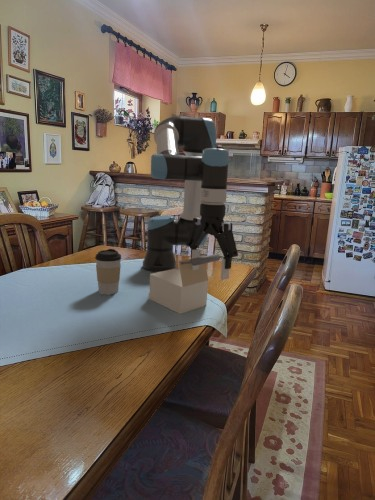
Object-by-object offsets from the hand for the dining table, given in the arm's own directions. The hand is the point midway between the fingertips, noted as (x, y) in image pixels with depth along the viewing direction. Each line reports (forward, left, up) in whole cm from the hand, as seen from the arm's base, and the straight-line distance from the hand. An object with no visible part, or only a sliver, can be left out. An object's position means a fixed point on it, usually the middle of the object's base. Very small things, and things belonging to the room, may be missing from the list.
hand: (209, 274), depth 109 cm
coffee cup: (+14, -36, -14) cm, 41 cm away
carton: (0, -14, -14) cm, 19 cm away
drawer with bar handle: (0, -7, -1) cm, 7 cm away
